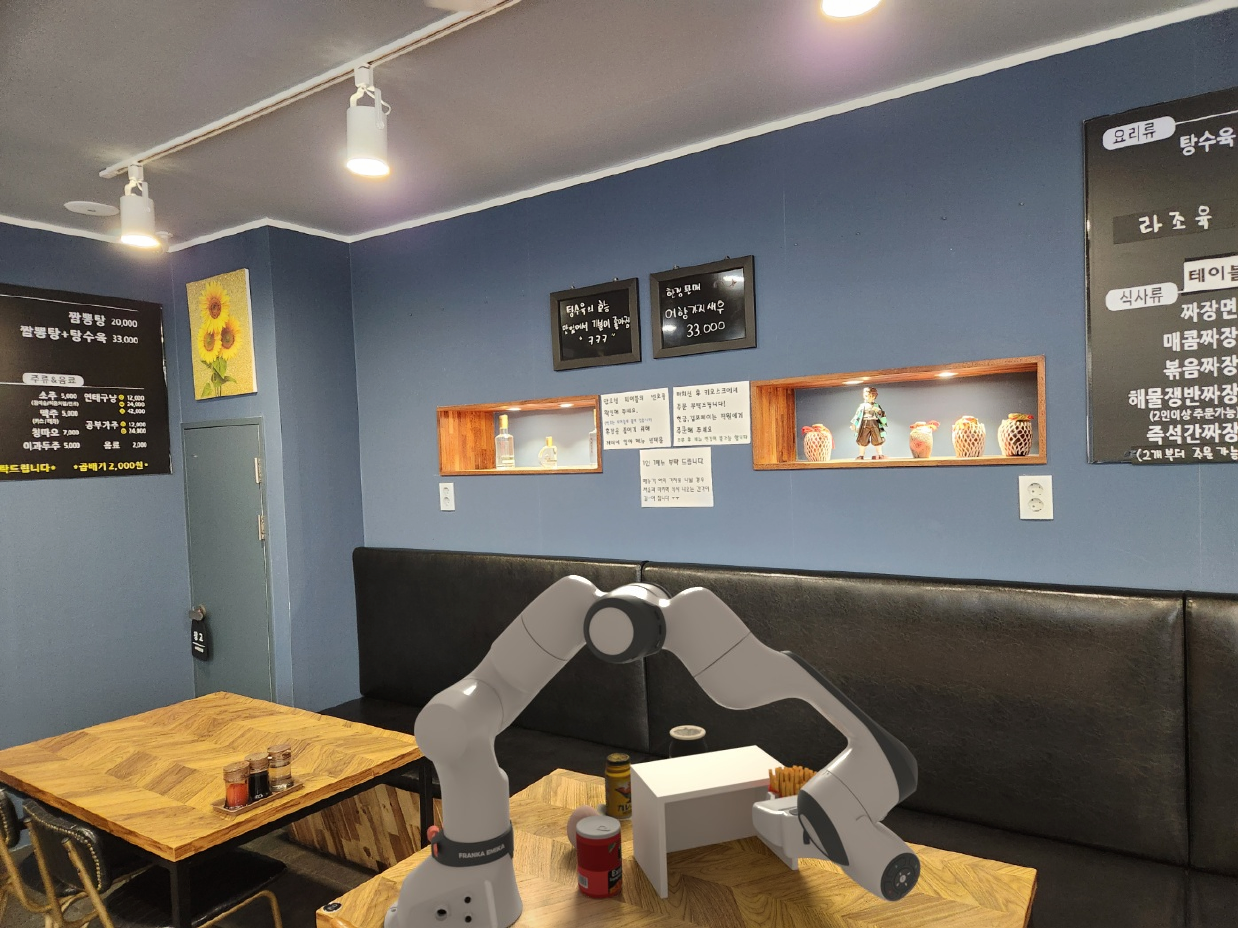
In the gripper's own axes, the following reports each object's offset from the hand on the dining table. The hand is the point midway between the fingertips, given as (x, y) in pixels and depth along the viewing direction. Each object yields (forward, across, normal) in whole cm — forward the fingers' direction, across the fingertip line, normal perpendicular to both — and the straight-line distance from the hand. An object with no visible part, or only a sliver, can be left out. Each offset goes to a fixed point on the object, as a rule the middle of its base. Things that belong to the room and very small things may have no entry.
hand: (790, 792), depth 129 cm
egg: (+27, +30, +17) cm, 44 cm away
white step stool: (+13, +9, +17) cm, 23 cm away
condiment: (+40, +20, +17) cm, 48 cm away
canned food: (+13, +31, +17) cm, 38 cm away
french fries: (-1, 0, +8) cm, 8 cm away
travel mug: (+32, +6, +17) cm, 36 cm away
